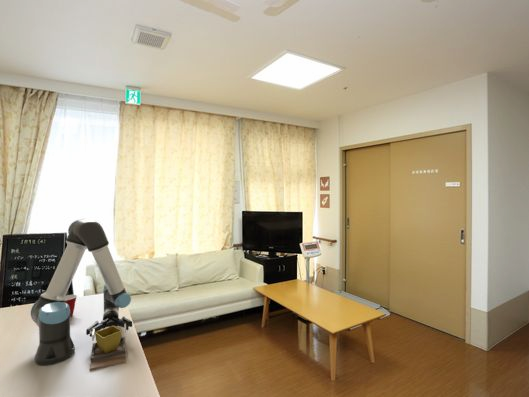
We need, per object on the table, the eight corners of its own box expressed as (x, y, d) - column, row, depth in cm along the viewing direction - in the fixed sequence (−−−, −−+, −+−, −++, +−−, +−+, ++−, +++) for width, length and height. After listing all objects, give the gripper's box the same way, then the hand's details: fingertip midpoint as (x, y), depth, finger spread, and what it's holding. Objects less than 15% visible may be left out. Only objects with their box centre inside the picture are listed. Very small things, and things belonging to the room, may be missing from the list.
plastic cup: (73, 311, 188) (73, 292, 188) (80, 315, 181) (80, 296, 181) (53, 316, 180) (53, 297, 179) (59, 321, 173) (59, 301, 173)
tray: (125, 362, 133) (125, 357, 133) (89, 371, 127) (89, 365, 127) (124, 341, 151) (124, 337, 151) (92, 348, 145) (92, 343, 145)
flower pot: (103, 357, 135) (102, 337, 135) (94, 350, 141) (94, 332, 140) (122, 349, 142) (122, 330, 142) (113, 343, 148) (113, 325, 147)
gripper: (136, 319, 165) (138, 337, 146) (83, 328, 155) (78, 348, 135) (135, 306, 165) (138, 322, 146) (83, 314, 154) (78, 332, 135)
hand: (109, 334), depth 141 cm, fingers open, 13 cm apart
